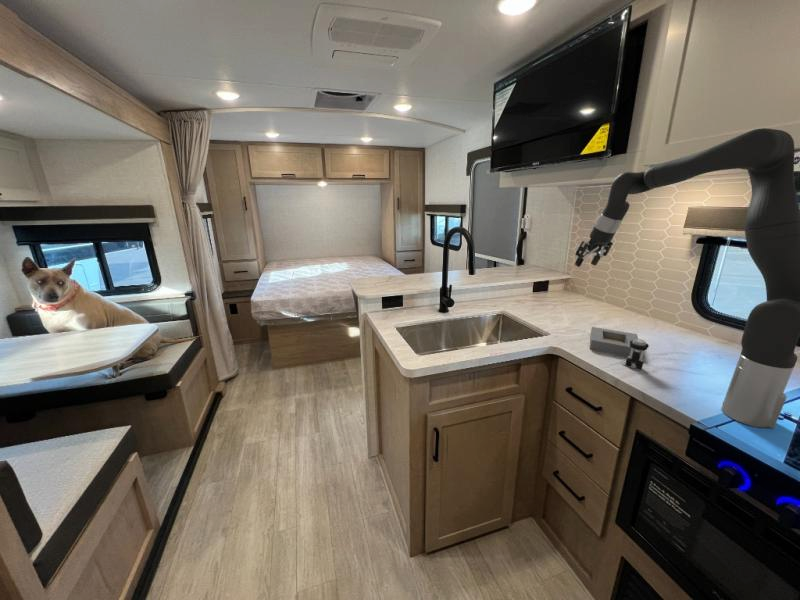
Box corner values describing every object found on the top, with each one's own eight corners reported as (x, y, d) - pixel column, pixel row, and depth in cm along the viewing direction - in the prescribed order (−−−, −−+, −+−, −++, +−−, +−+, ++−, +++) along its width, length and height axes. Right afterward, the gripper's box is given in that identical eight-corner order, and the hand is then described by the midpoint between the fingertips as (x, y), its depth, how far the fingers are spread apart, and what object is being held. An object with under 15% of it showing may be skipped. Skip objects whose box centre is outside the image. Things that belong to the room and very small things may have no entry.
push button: (618, 365, 113) (624, 339, 110) (621, 360, 117) (627, 335, 114) (641, 372, 109) (648, 345, 106) (644, 366, 112) (650, 340, 109)
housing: (634, 343, 131) (636, 334, 130) (639, 358, 118) (641, 349, 116) (590, 335, 139) (591, 326, 137) (589, 349, 125) (591, 339, 124)
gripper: (599, 233, 113) (578, 271, 123) (627, 231, 118) (605, 268, 127) (583, 224, 119) (565, 261, 128) (611, 223, 123) (591, 259, 133)
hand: (585, 265), depth 128 cm, fingers open, 8 cm apart
